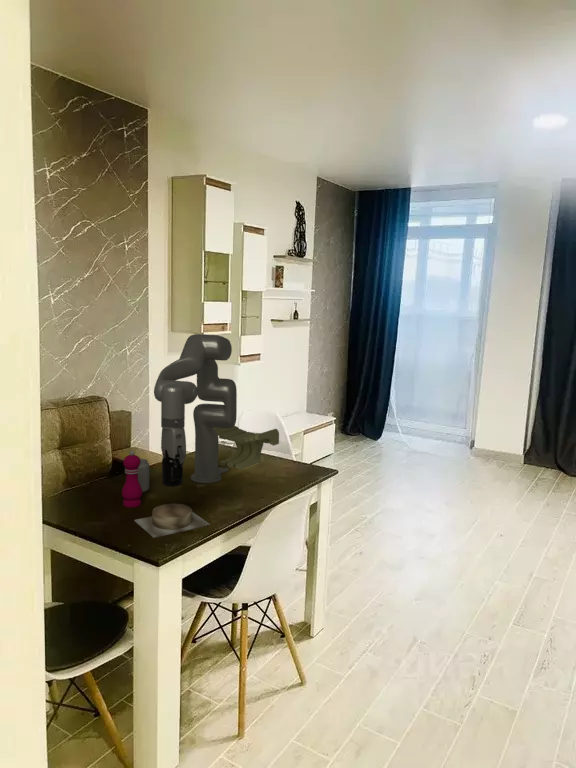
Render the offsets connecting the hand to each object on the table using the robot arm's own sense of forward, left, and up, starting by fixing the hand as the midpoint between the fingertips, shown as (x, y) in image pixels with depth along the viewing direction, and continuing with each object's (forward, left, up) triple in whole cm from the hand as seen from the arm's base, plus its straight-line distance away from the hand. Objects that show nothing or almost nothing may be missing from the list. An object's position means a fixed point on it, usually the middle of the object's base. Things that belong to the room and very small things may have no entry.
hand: (172, 474), depth 199 cm
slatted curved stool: (-56, -48, -17) cm, 76 cm away
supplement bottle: (0, 0, -3) cm, 3 cm away
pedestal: (0, 0, -17) cm, 17 cm away
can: (-3, -36, -17) cm, 40 cm away
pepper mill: (+5, -23, -17) cm, 29 cm away
